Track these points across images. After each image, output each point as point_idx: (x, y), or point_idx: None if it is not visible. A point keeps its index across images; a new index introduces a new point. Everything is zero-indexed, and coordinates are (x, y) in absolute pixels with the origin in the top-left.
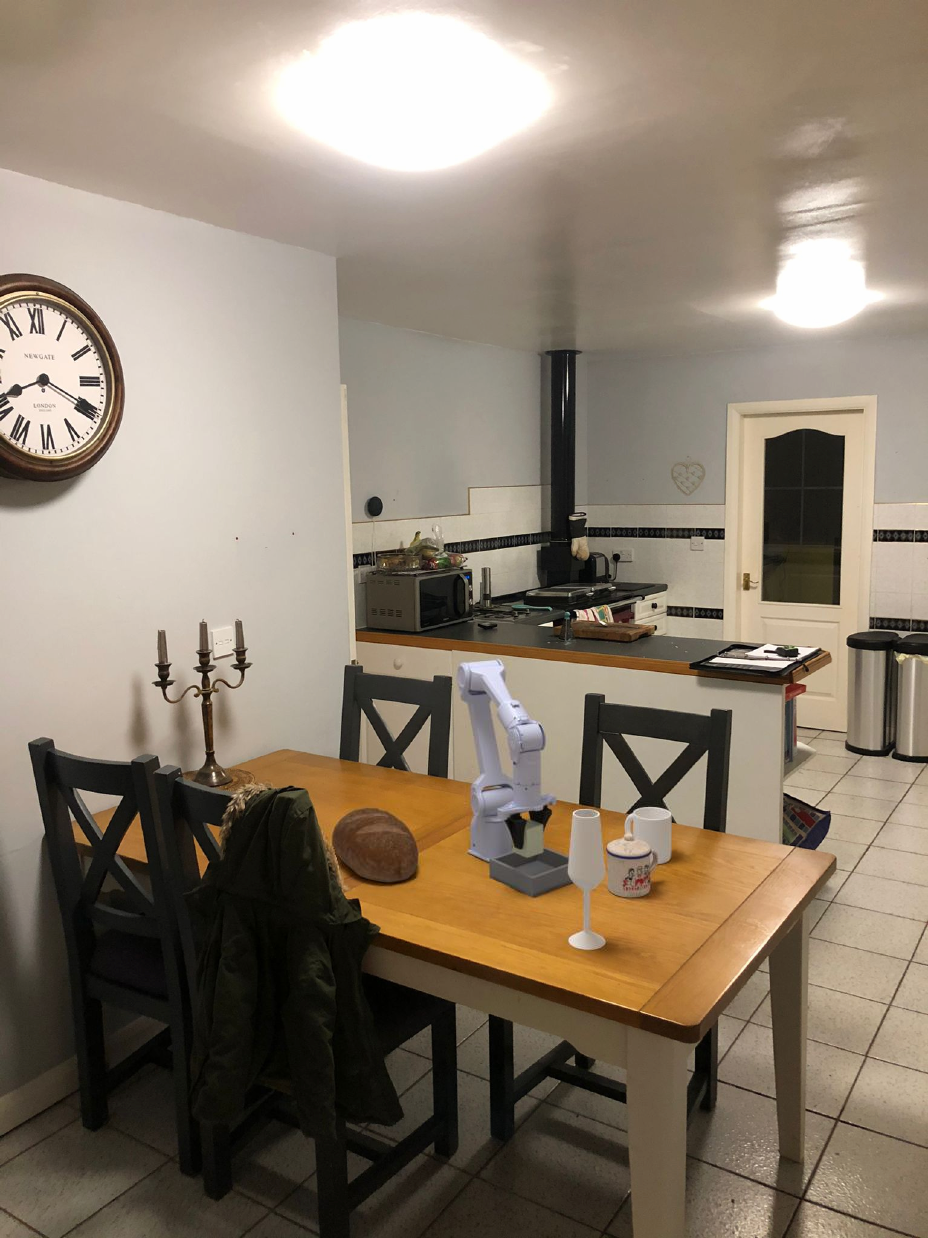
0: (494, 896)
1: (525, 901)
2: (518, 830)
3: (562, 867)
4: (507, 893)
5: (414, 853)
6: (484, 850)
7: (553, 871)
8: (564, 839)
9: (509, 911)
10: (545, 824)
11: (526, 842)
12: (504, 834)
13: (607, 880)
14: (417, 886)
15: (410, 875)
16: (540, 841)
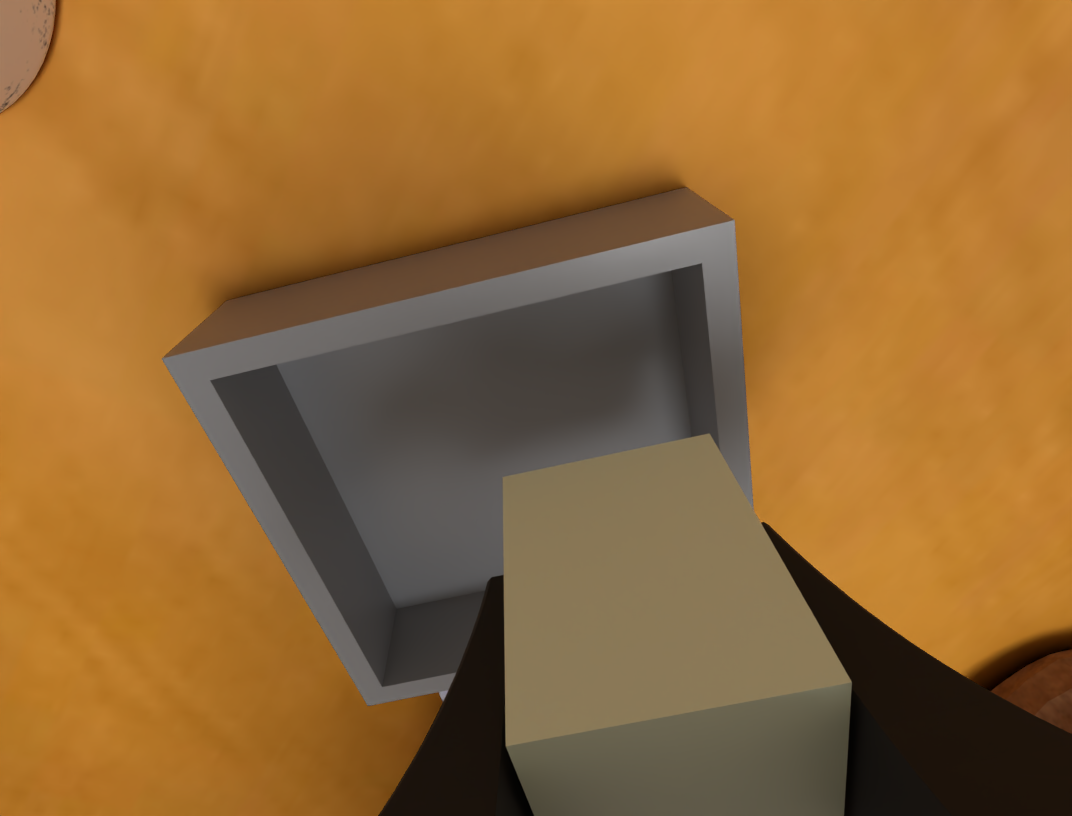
0: (871, 324)
1: (766, 156)
2: (989, 694)
3: (372, 312)
4: (779, 327)
5: None
6: None
7: (482, 280)
8: (140, 752)
9: (972, 50)
10: (434, 757)
11: (768, 543)
12: None
13: (7, 25)
14: (1068, 584)
15: (1060, 661)
16: (546, 553)
